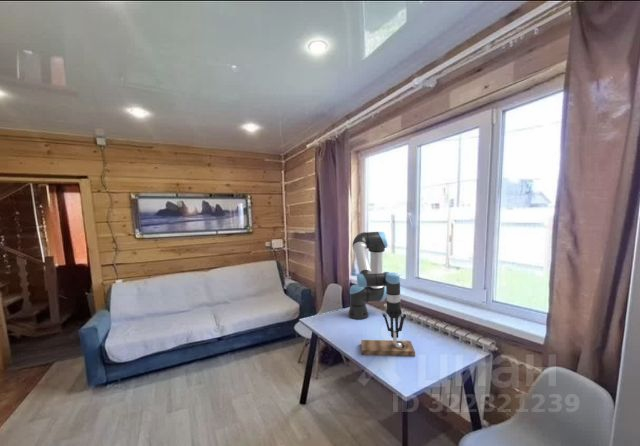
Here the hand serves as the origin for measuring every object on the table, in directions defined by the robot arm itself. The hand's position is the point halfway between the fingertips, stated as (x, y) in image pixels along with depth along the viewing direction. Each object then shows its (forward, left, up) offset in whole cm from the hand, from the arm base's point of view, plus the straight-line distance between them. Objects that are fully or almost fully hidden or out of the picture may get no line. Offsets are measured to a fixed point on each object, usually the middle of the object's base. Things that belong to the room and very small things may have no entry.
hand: (394, 343), depth 148 cm
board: (0, -4, -4) cm, 6 cm away
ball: (0, +2, -2) cm, 3 cm away
